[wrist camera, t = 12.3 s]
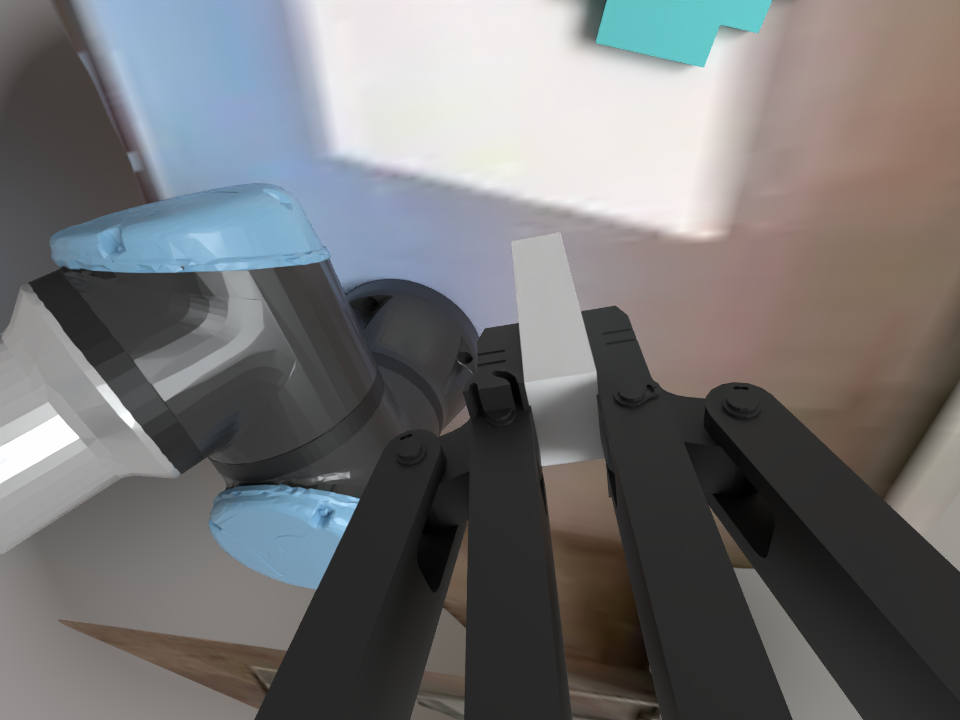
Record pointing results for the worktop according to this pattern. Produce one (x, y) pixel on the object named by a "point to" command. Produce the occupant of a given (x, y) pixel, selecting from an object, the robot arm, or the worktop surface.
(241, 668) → the worktop surface
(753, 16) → the alien figure
